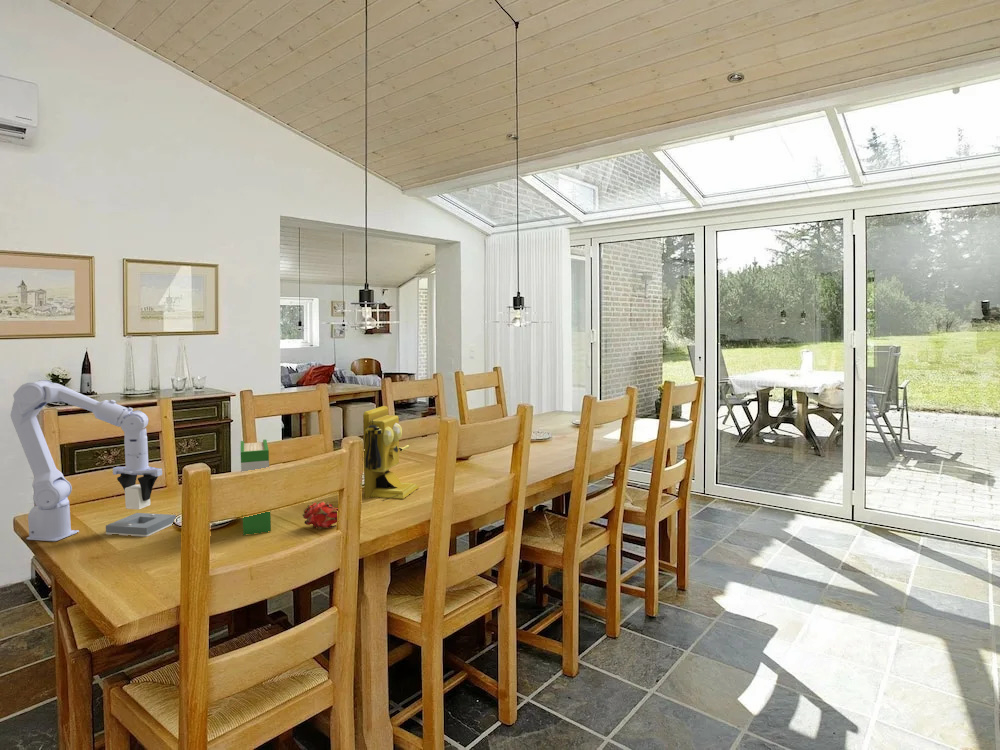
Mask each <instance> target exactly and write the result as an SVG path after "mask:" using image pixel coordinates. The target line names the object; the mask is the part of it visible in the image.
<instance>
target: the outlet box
mask: <svg viewBox="0 0 1000 750" xmlns="http://www.w3.org/2000/svg"><path fill="white" fill-rule="evenodd" d="M174 519H177V517H176V514H167V513H166V514H165V513H164V514H163V513H148V512H147V513H145V512H135V513H133V514H130V515H128V516H125V517H123V518H120V519H117V520H116V521H114V522H111V523H108V524H106V525H105V535H112V534H119V535H118V536H128V535H131V536H132V537H145V538H146V537H149V536H151V535H154V534H156V533H158V532H160V531H162V530H164V529H166V528H168V527H171V526H173V525H174V524H173V522H174ZM172 524H173V525H172Z"/></svg>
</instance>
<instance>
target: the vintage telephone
mask: <svg viewBox="0 0 1000 750" xmlns="http://www.w3.org/2000/svg"><path fill="white" fill-rule="evenodd" d="M362 417H363V420H362V424H363V430H362V431H363V452H364V457H363V481H364V482H362V483H363V486H364V489H363V491H364V492H363V493H364V494H363V495H364V499H369V498H368V497H370V498H376V497H381V498H380V499H383V500H381V501H382V502H384V501H386V500H389V499H390V498H396V499H395V500H404V499H406V498H407V497H408V496H410V495H411V494H413V493H414V492H415V491H417V490H418V489H419V488H420V486H418V485H417V484H416V483H413V482H412V483H411V482H402V481H401V479H399V477H398V476H397V474H396V473H394V472H393V471H390V469H391V468H393V467H395V466H396V465H399V464H400V452H403V451H405V450H407V449H409V448H410V444H407V445H405V446H404V447H403V446H402V447H401V446H400V439H401V438H402V436H403V435H402V434H403V427H402V426H401V425H400V424H399V421H400V420H399V417H400V416H398V415H389V408H388V406H386V405H382V406H378V407H376V408H372V409H369V410H366V411H364V412H363V414H362ZM364 449H365V451H364ZM416 489H417V490H416ZM412 492H413V493H412ZM409 494H410V495H409ZM405 497H406V498H405Z"/></svg>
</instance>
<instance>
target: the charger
mask: <svg viewBox="0 0 1000 750" xmlns="http://www.w3.org/2000/svg"><path fill="white" fill-rule="evenodd" d="M124 499H125V500H124V501H125V503H124V504H125V509H126V510H127V509H128V510H141V509H143V508H147V507H148V506H151V498H150V499H148V500H146V501H143V499H142V491H141V486H140V483H139V484H135V485H133V486H130V487H127V488H125V491H124Z"/></svg>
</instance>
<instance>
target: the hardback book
mask: <svg viewBox="0 0 1000 750" xmlns="http://www.w3.org/2000/svg"><path fill="white" fill-rule="evenodd" d="M266 467H269V468H270V451H269V446H268V440H267V439H263V440H262V441H261V442H246V443H245V441H244V440H240V473H241V472H242V471H248V470H255V469H261V468H266ZM271 517H272V516H271V511H270V512H265V513H261V514H257V515H253V516H249V517H244V518H243V517H242V536H247V535H246V534H251V535H255V534H254V533H259V534H262V533H261V532H267V533H269V532H268V531H271V532H272V529H271V528H272V527H271V526H272V524H271V522H272V521H271V519H272V518H271Z"/></svg>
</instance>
